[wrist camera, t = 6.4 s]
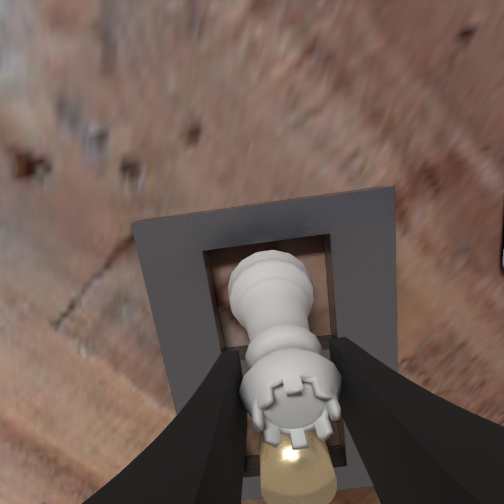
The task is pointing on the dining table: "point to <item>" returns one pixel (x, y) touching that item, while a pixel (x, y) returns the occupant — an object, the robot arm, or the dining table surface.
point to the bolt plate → (212, 345)
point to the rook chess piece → (283, 351)
